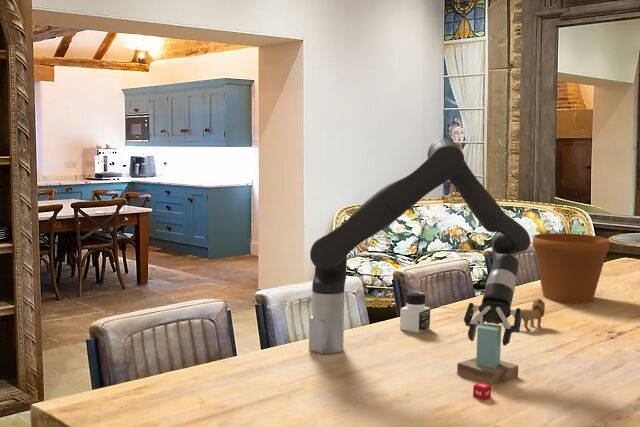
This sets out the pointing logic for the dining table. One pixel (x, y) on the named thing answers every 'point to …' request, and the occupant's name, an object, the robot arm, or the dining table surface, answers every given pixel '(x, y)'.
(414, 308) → the medicine bottle
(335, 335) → the robot arm
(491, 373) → the walnut base plate
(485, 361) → the teal pillar block
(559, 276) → the flowerpot
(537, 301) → the lion figurine
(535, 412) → the dining table surface
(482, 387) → the dice
